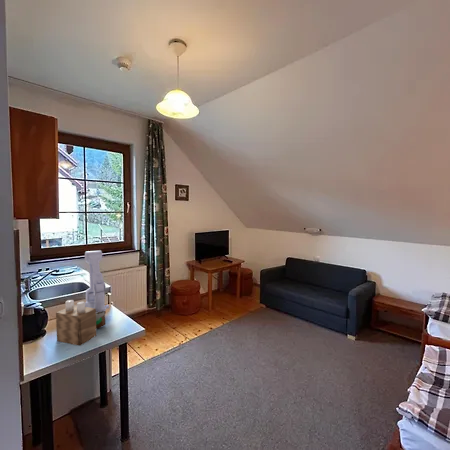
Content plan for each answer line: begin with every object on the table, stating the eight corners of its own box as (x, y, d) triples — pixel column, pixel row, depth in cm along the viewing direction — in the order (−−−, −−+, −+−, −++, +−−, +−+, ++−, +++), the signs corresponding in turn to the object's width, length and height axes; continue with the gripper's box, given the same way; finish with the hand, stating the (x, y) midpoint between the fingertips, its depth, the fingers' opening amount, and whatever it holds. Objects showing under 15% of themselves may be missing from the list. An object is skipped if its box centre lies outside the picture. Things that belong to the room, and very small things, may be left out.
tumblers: (64, 310, 149) (63, 302, 149) (70, 308, 153) (69, 299, 152) (81, 313, 145) (80, 304, 145) (86, 310, 149) (86, 302, 149)
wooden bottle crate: (56, 340, 148) (55, 312, 146) (74, 331, 159) (73, 304, 157) (80, 345, 143) (79, 316, 142) (96, 335, 154) (95, 308, 153)
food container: (84, 327, 163) (80, 314, 160) (91, 321, 169) (88, 308, 165) (100, 331, 160) (97, 318, 157) (107, 324, 166) (104, 311, 162)
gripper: (96, 307, 158) (96, 329, 159) (113, 299, 172) (113, 319, 173) (86, 305, 160) (87, 327, 162) (104, 297, 174) (104, 317, 175)
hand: (100, 323), depth 168 cm, fingers closed, pressing on food container
